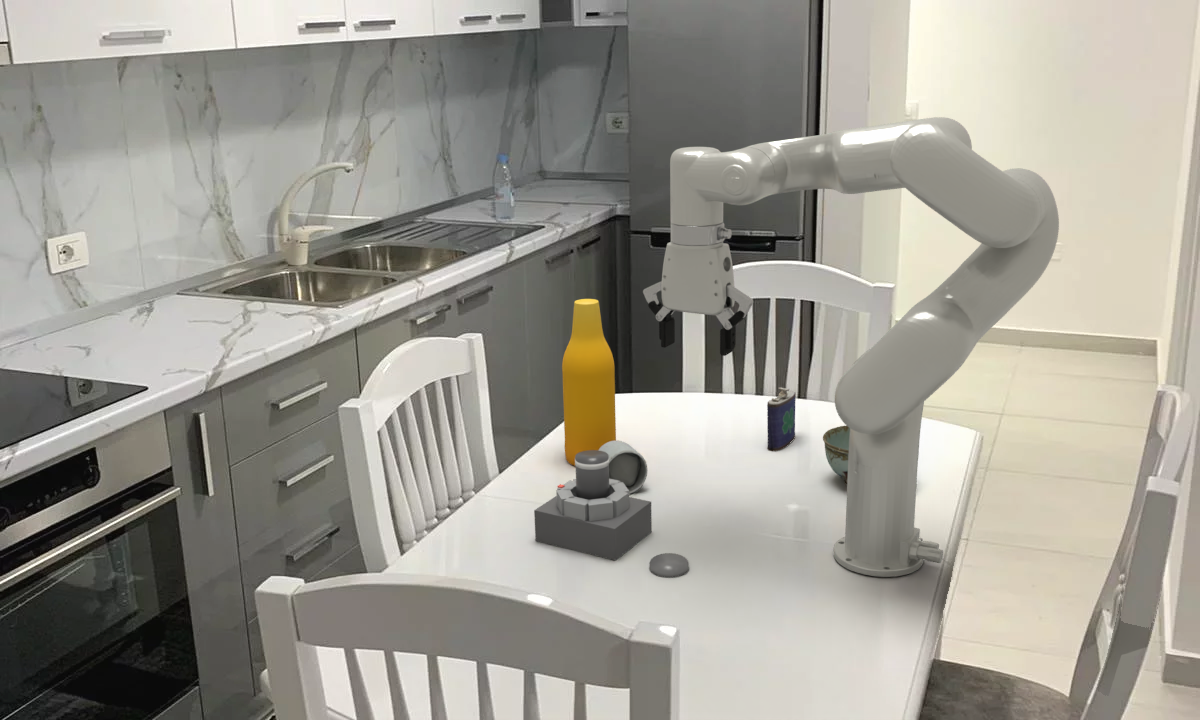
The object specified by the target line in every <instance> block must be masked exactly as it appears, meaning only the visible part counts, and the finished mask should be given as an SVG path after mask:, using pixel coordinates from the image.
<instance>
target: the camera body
mask: <svg viewBox="0 0 1200 720" xmlns="http://www.w3.org/2000/svg"><path fill="white" fill-rule="evenodd" d="M556 487H557V488H556V490H555V491H556V496H554V497H552V498H551V499H549V500H547V501H546V502H545V503H543V504H542V505H540V506H539V507H537V508H535V509H534V514H533V515H534V534H535V535H534V536H535V539H534V540H535V541H536V542H540V543H543V544H547V545H550V546H551V545H553V546H555V547H558V548H559V547H560V548H563V549H564V548H565V549H568V550H572V551H576V552H580V553H584V554H588V555H591V556H596V557H599V558H603V557H604V558H603V559H609V560H613V561H617V560H619V558H621V557H622V556H623V555H624V554H626V553H627V552H628V551H630V550H631V548H634V547H635V546H636V545H637V544H638V543H640V542H641V541H642V540H643V539H644V538H646V537H647V536H648V535H650V534H651V533H652V530H653V525H652V520H653V519H652V500H651V501H650V500H645V499H640V498H636V497H632V496H630V494H629V490H628V489H627V487H626V486H625V484H624V483H623V482H620V481H618V480H614V479H609V490H610V496H608V497H607V498H600V499H592V500H588V499H583V498H578V497H576V478H573V480H568V481H566V482H565V483H563V484H561V483H559V484H558V485H557V486H556Z"/></svg>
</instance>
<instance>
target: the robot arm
mask: <svg viewBox="0 0 1200 720" xmlns="http://www.w3.org/2000/svg"><path fill="white" fill-rule="evenodd" d="M972 148H973V145H972V139H971V137H970V134H969V132H968V131H967V129H966V127H965V126H964V125H962V124H961V123H960V122H958V120H955V119H953V118H951V117H950V118H949V117H945V116H937V117H936V116H935V117H926V118H920V119H913V120H912V119H911V120H906V121H900V122H899V121H898V122H892V123H891V122H890V123H886V124H885V123H884V124H878V125H871V126H865V127H863V126H862V127H856V128H849V129H843V130H836V131H833V132H829V133H825V134H818V135H812V136H811V135H809V136H802V137H796V138H789V139H788V138H787V139H781V140H775V141H768V142H761V143H756V144H751V145H748V146H745V147H742V148H739V149H734V150H730V151H723V152H721V151H720V150H719V149H717V148H715V147H709V146H688V147H686V146H685V147H680V148H677V149H674V151H673V152H672V153H671V156H670V158H669V159H670V160H669V161H670V163H669V167H670V173H669V175H670V177H669V178H670V179H669V183H670V186H669V187H670V188H669V191H670V193H669V195H670V196H669V197H670V202H669V204H670V206H669V207H670V242H667V244H666V246H665V247H666V249H665V252H664V258H663V265H662V273H661V281H659V282H656V283H654V284H652V285H650V286H648V287H646V288H644V289H643V290H642V293H643V295H644V298H645V301H646V302H647V303H648V305H647V306H648V308H649V309H650V311H651V312H652V313H653V314H654V315H655V319H656V320H657V321H658V325H659V327H658V332H659V334H658V335H659V340H660V347H661V348H663V349H664V348H668V347H669V346H671V345H672V344H674V343H675V341H676V340H675V339H676V338H675V337H676V336H675V335H676V334H675V329H676V327H675V326H676V325H675V324H676V323H675V322H676V321H675V318H674V316H673V317H672V315H673V314H674V312H681V313H682V312H683V313H688V314H690V313H691V314H698V315H706V316H707V315H708V316H715V317H716V319H718V321H719V322H720V324H721V325H722V327H723V328H721V329H720V331H719V354H720V355H721V356H723V357H726V356H727V355H729V354H730V353H733V352H734V349H735V348H736V341H737V340H736V338H737V337H736V334H737V333H736V328H737V326H738V325H740V323H741V322H742V321H743V320H744V319H745V318H746V317H747V316H748V312H750V310H751V308H752V305H753V304H754V300H753V298H751V297H750V296H749V295H747V294H746V293H744V292H743V291H741V290H739V289H738V288H736V287H735V277H734V276H735V275H734V266H733V261H732V254H731V250H730V249H731V248H730V245H729V244H728V243H724V241H725V240H726V239H729V240H730V239H731V238H732V233H733V232H732V229H730V228H729V229H728V228H726V227H725V223H724V204H729V205H732V206H733V205H735V206H746V205H751V204H753V203H755V202H756V203H757V201H760V200H762V199H764V198H766V197H769V196H773V195H778V194H784V193H793V192H799V191H801V192H802V191H807V190H809V191H811V190H825V189H826V190H834V191H837V192H838V193H841V194H843V195H845V194H846V195H857V194H858V195H859V194H863V193H864V194H866V193H871V192H872V193H873V192H879V191H889V190H890V191H891V190H898V189H899V190H900V189H906V190H907V191H908V192H910V193H911V194H912V195H913V196H915V198H917V199H918V200H920V201H921V202H922V203H924V204H925V205H926V206H927V207H928V208H930V209H931V210H933V212H936V213H937V214H938V215H940V216H941V217H942V218H943V219H945V220H947V222H949V223H951V224H953V226H955V227H956V228H958V229H959V230H960V231H962V232H964V233H965V234H966V235H967V236H969V237H971V238H972V239H973V240H975V241H976V242H978V243H980V244H979V246H978V247H977V248H976V249H975V250H974V251H973V252H972V253H971V254H970V255H969V256H968V257H967V258H966V259H965V260H964V261H963V262H962V263H961V264H960V265H959V267H958V268H957V269H956V270H954V272H953V273H952V274H950V275H949V276H948V277H947V278H946V279H945V280H944V281H943V282H941V284H940V285H939V286H938V287H936V289H934V290H933V291H932V292H931V293H930V294H928V295H927V296H926V297H924V298H923V299H921V300H919V301H918V302H917V303H916V304H914V305H913V306H912V307H911V308H910V309H909V310H908V311H907V312H906V313H904V315H903V316H902V317H901V318H900V319H899V320H898V321H897V322H896V323H895V324H894V325H893V326H892V327H891V328H890V329H889V330H888V331H887V332H886V333H885V334H884V335H883V336H882V337H881V338H880V339H878V341H877V342H876V343H874V345H873V346H872V347H871V348H869V349H868V350H866V351H865V352H864V353H863V354H861V355H860V356H859V357H858V358H857V359H856V360H855V361H854V362H853V364H852V365H851V366H850V367H849V368H848V369H847V370H846V371H845V372H844V374H842V376H841V377H840V379H838V382H837V385H836V386H835V387H836V388H835V391H834V406H835V410H836V412H837V414H838V417H839V418H840V420H841V421H842V422H843V424H844V426H848V427H849V428H850V437H849V454H848V479H847V485H846V506H845V510H846V512H845V533H844V536H843V537H841V538H840V539H838V540H837V541H836V542H835V543H834V545H833V557H834V560H835V561H836V562H837V563H838V564H839V565H840V566H842V567H844V568H845V569H847V570H849V571H851V572H855V573H857V574H861V575H865V576H872V577H878V578H879V577H880V578H893V577H901V576H907V575H909V574H912V573H914V572H916V571H917V570H920V568H921V567H922V566H923V564H924V560H925V561H927V562H931V563H935V564H939V565H940V564H941V563H942V561H943V558H944V551H943V549H940V548H939V547H940V544H939V542H934V541H927V540H923V538H921V537H920V536H921V535H920V533H921V528H918V527H915V516H916V515H915V514H916V499H917V483H918V482H917V481H918V465H919V454H920V452H919V450H920V441H921V440H920V438H921V428H922V426H921V425H922V417H923V412H924V406H925V405H924V403H925V401H927V400H928V399H929V398H930V397H931V396H932V395H933V394H934V393H936V391H938V390H939V388H941V387H942V386H943V385H944V384H945V383H947V381H948V380H950V379H951V377H953V376H954V374H955V373H957V371H959V369H960V368H961V367H962V366H963V365H964V363H965V362H966V360H967V359H968V357H969V356H970V355H971V353H972V351H973V350H974V348H975V347H976V345H977V344H978V342H979V341H980V340H981V339H982V337H983V336H985V334H987V333H988V332H989V331H990V329H992V328H993V327H994V326H995V325H996V324H997V323H998V322H999V321H1000V320H1001V319H1003V317H1005V316H1006V315H1007V314H1008V313H1009V312H1010V310H1012V308H1013V307H1014V306H1015V305H1016V304H1017V303H1018V302H1020V300H1021V299H1022V298H1024V297H1025V296H1026V295H1027V294H1028V293H1029V292H1030V290H1031V289H1032V288H1033V287H1034V286H1035V285H1036V283H1038V281H1039V280H1040V279H1041V277H1042V275H1043V274H1044V273H1045V271H1046V269H1047V268H1048V267H1049V264H1050V262H1051V259H1052V258H1053V255H1054V252H1055V251H1056V250H1055V249H1056V246H1057V242H1058V239H1059V230H1060V219H1059V212H1058V207H1057V202H1056V198H1055V196H1054V193H1053V191H1052V189H1051V186H1049V183H1048V182H1047V181H1046V180H1045V179H1044V178H1043V177H1042V176H1041V174H1039V173H1037V172H1035V171H1034V170H1030V169H1026V168H1010V169H1006V170H1001V169H1000V168H999V167H997V166H995V165H994V164H992V163H990V161H988V160H986V159H985V158H984V157H982V156H981V155H980V154H979V153H977V152H976V151H974V150H973V149H972ZM658 292H661V301H660V300H659V299H658V295H657V293H658ZM735 303H737V304H738V305H739V306H738V308H737V311H736V312H734V311H733V309H732V308H734V306H735Z"/></svg>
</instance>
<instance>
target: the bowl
mask: <svg viewBox="0 0 1200 720" xmlns="http://www.w3.org/2000/svg"><path fill="white" fill-rule="evenodd" d="M849 437H850V428H849V427H848V426H847V425H839V426H837V427H833V428H830V429H828V430H827V431H825V433H824V434H823V436H822V441H823V442H824V451H825V452H824V453H825V457H826V459H827V463H828V465H829V466H830V468H831V470H832V471H833V472H834V473H835V474H836V475H837V476H838V477H840V478H841V479H843V482H844V484H845V485H846V486H847V479H848V454H849Z"/></svg>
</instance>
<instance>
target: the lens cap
mask: <svg viewBox="0 0 1200 720" xmlns="http://www.w3.org/2000/svg"><path fill="white" fill-rule="evenodd" d="M689 564H690V563H689V560H688V558H686V557H685V556H683V555H681V554H678V553H675V552H674V553H673V552H665V553H660V554H656V555H655V556H653V557H652V558H650V560H649V566H648V567H649V568H648V569H649V572H650V573H651V574H653V575H655V576H656V577H660V578H668V579H669V578H670V579H671V578H673V579H674V578H678V577H681V576H684V575H686V574H687V573H688V572H689V569H690V568H689V566H690V565H689Z"/></svg>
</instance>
